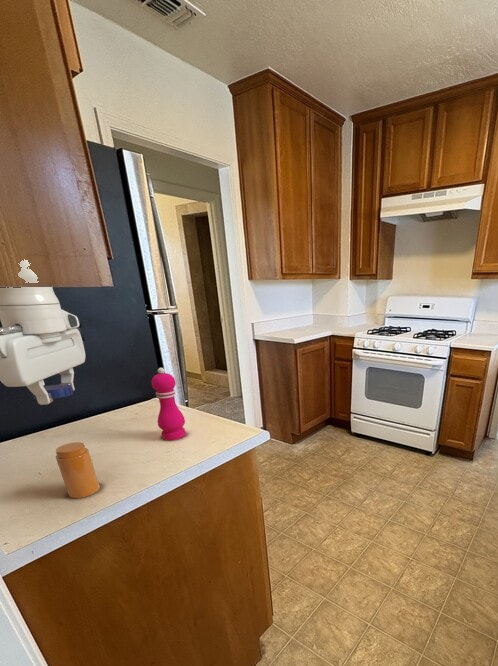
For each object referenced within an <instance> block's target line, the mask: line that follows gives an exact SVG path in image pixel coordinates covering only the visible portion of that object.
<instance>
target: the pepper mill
mask: <svg viewBox="0 0 498 666" xmlns="http://www.w3.org/2000/svg"><path fill="white" fill-rule="evenodd" d="M176 384H177V383H176V379H175V377H174V376H173V375H172V374H170V373H168V372H166V370H165V368H164V367H159V368H158V369H157V374H154V376H153V377H152V379H151V387H152V389H154V390H155V397H156V398H157V399H158V402H159V413H158V416H157V426H158V428H159V429H161V437H162V439H163V440H165V441H176V440H180V439H182V438H184V437H185V436H186V428H185V427H184V426H185V424H186V419H185V416H184V414H183V413H182V411H181V410H180V409H179V407H178V406H177V402H176V397H175V396H177V395H176V394H177V393H176V390H175V387H176Z"/></svg>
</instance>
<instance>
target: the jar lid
mask: <svg viewBox="0 0 498 666" xmlns="http://www.w3.org/2000/svg"><path fill="white" fill-rule="evenodd" d="M43 387H44V388H45V390H46V391H47V393H51V395H52V398H53V400H54V399H61V398H66V397H69V396H71V395H73V394H74V391H73V390H72V387H71V385H59V384H51V385H44V386H43ZM30 393H31V397H32V399H34V400H37V398H36V396H35V395H34V394H33V393H32V392H31V391H30Z"/></svg>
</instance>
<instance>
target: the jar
mask: <svg viewBox="0 0 498 666" xmlns="http://www.w3.org/2000/svg"><path fill="white" fill-rule="evenodd" d="M55 460H56V463H57V467H58V468H59V472H60V474H61V477H62V479H63V483H64V486H65V488H66V491H67V494H68V496H69V498H71V499H72V498H73V499H83V498H86V497H89V496H91V495H94V494H95V493H97V492H98V491H99V490H100V483H99V480H98V477H97V473H96V471H95V470H96V469H95V467H94V463H93V461H92V457H91V453H90V451H89V449H88V448H87V447H86V445H85V443H84V442H81V441H79V442H78V441H77V442H70V443H69V442H68V443H65V444H63V445H62V444H61V445H60V446H58V447H57V448H56V449H55Z"/></svg>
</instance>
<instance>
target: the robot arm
mask: <svg viewBox="0 0 498 666" xmlns="http://www.w3.org/2000/svg"><path fill="white" fill-rule="evenodd" d="M18 264H19V263H18ZM30 264H31V263H30ZM30 264H29V262H28V260H25V259H24V261H23V260H22V261H21V262H20V264H19V265H20V267H22V268H21V271H20V272H19V273H18V276H19V277H20V278H22V279H24V280H25V281H26V282H25V283H28V282H29V283H38V282H39V281H37V279H38V277H37V275H36V274H35V273H34V272H33V271H32V270H31V269H29V267H28V266H30ZM27 267H28V269H27ZM0 323H1V326H0V382H1V384H3V385H4V386H5V387H8V388H17V387H26V388H27V389H28V390H29V391H30V393H31V392H32V393H33V394H34V395H35V396H36V398H37V399H36V401H37V404H38V405H40V406H43V405H46V406H47V405H49V404H51V403H53V402H54V399H53V398H52V395H51V393H47V391H46V390H45V388H44V387H43V386H46V384H45V381H44V380H46V379H48V378H50V377H53V376H56V375H60V382H61V383H59V384H58V385H71V387H72V390H73V392H74V391H75V385H74V378H75V371H74V368H75V367H78V366H80V365H83V364H85V362H86V351H85V345H84V342H83V338H82V335H81V332H80V330H79V329H78V328H79V327H80V321H79V318H78V316H77V315H75V314H73V313H70V312H69V311H66V310H65V309H62V307H61V303H60V301H59V298H58V297H57V296H56V294H55V291H54V288H53V286H52V287H21V288H13V287H9V288H7V287H6V288H0ZM32 393H31V394H32Z"/></svg>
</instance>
